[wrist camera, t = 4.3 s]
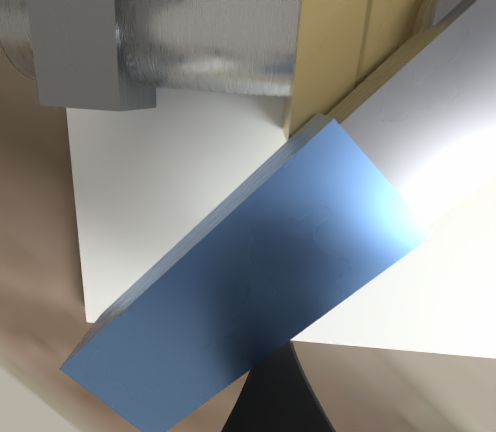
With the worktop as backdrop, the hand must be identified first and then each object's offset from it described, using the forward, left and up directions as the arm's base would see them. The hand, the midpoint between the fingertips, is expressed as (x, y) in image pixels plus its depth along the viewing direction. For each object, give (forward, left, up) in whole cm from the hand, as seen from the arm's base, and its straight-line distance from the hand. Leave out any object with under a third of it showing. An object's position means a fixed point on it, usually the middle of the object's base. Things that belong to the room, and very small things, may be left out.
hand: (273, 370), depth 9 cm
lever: (-1, -5, 0) cm, 5 cm away
